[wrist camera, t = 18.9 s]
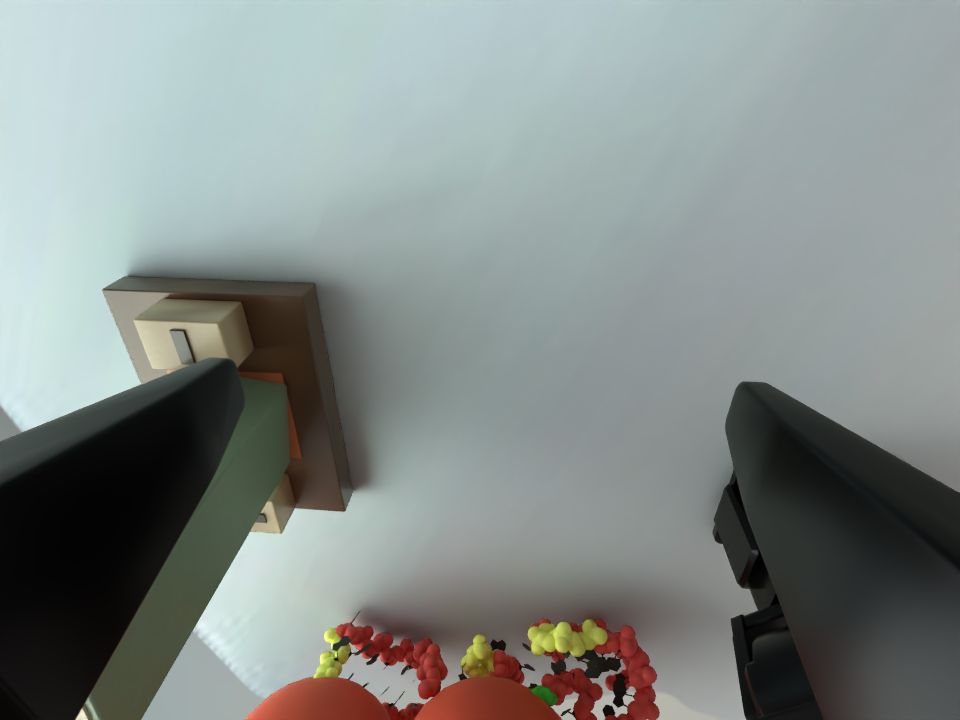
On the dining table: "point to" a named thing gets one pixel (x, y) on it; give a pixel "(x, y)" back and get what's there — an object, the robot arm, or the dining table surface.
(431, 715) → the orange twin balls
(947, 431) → the dining table surface
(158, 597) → the green tall block
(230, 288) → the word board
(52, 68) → the dining table surface
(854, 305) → the dining table surface
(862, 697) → the robot arm
